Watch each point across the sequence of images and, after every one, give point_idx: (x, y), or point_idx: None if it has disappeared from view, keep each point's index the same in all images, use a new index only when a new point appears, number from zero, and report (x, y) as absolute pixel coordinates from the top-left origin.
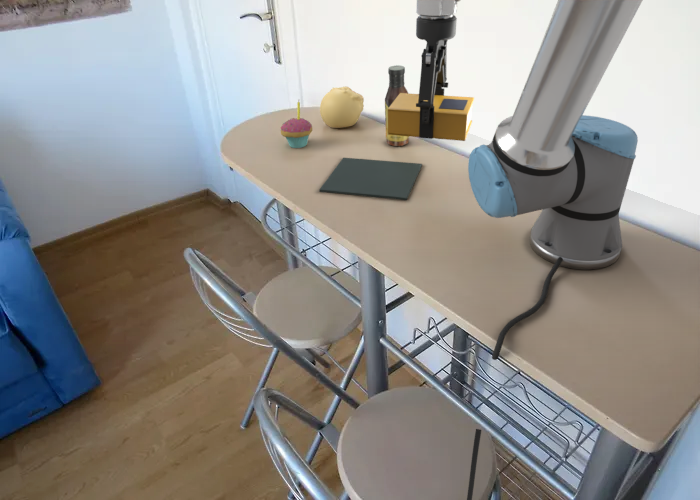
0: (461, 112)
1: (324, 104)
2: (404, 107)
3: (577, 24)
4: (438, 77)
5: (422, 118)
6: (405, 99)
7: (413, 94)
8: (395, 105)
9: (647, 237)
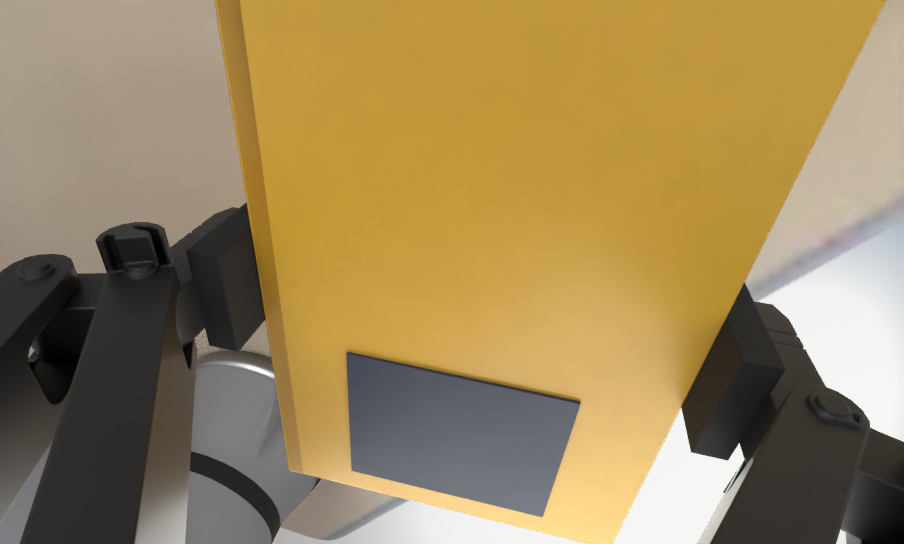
0: (312, 453)
1: None
2: (301, 70)
3: None
4: (705, 537)
5: (198, 230)
6: (574, 49)
7: (780, 138)
8: None
9: (337, 509)
